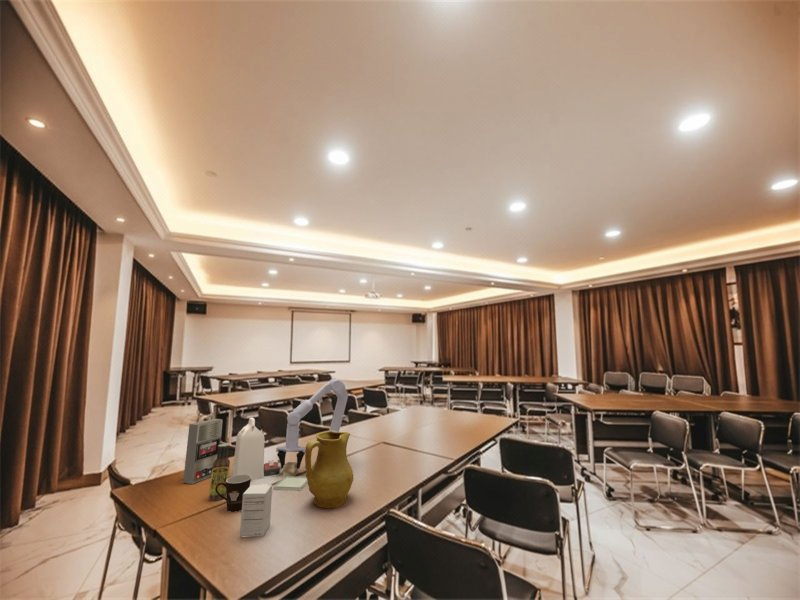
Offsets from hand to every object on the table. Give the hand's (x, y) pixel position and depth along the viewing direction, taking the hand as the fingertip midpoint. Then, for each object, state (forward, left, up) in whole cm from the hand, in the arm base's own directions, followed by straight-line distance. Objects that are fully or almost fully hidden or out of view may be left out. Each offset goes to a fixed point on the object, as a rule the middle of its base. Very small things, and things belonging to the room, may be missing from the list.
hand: (290, 467), depth 153 cm
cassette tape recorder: (+39, +8, -3) cm, 40 cm away
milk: (+19, +4, -3) cm, 20 cm away
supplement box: (-10, +49, -3) cm, 50 cm away
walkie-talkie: (+12, -7, -4) cm, 14 cm away
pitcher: (-27, +26, -3) cm, 38 cm away
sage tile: (-6, +11, -3) cm, 13 cm away
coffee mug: (+7, +34, -3) cm, 35 cm away
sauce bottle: (+18, +27, -3) cm, 33 cm away
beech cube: (0, 0, -3) cm, 3 cm away
